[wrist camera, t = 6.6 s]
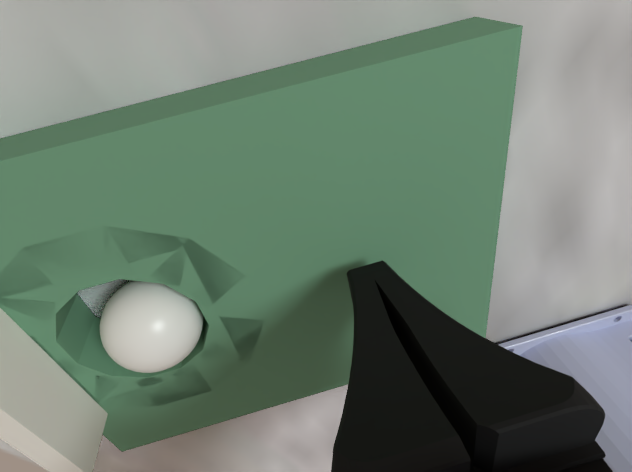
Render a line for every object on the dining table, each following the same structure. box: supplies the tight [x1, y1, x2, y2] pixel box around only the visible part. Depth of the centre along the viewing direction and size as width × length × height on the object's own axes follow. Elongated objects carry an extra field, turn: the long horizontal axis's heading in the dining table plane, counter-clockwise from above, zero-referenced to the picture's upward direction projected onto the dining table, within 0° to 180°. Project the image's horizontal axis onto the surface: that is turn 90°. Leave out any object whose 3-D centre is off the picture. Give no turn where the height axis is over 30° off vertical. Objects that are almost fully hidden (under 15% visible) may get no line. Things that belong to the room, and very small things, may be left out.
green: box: [0, 17, 523, 472], centre depth 14 cm, size 18×14×5 cm
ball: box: [100, 280, 203, 373], centre depth 15 cm, size 4×4×4 cm
